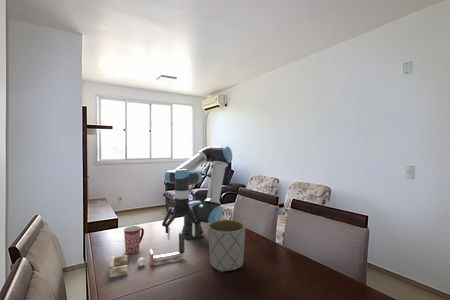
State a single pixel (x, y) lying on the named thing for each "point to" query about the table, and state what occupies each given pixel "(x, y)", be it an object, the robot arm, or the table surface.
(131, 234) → the mug
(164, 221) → the robot arm
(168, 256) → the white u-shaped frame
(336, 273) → the table surface
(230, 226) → the planter
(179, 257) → the strip
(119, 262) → the beige block
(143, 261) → the ball
